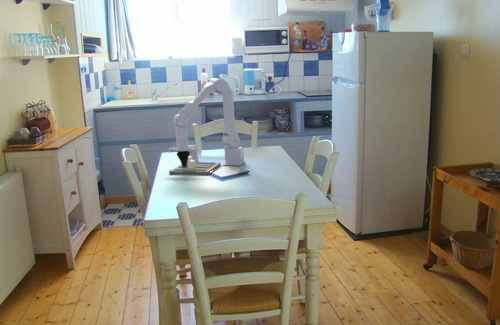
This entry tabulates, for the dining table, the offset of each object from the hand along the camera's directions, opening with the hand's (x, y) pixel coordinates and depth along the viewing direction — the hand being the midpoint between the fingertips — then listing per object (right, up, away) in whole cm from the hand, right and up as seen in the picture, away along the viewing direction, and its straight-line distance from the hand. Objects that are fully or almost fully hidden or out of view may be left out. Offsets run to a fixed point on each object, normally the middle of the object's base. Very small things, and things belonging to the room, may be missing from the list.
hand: (184, 166), depth 223 cm
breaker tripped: (+4, -1, -1) cm, 4 cm away
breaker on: (+1, +1, +8) cm, 8 cm away
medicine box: (0, +2, +22) cm, 22 cm away
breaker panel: (+5, -2, +3) cm, 6 cm away
